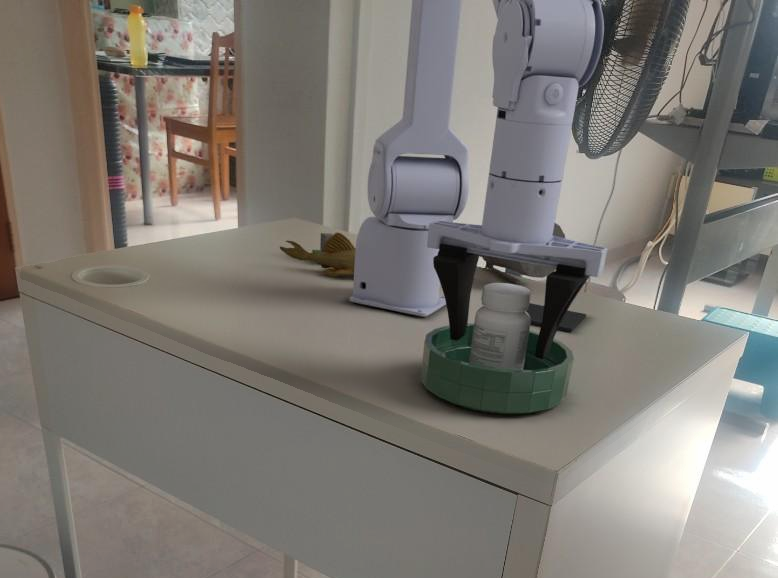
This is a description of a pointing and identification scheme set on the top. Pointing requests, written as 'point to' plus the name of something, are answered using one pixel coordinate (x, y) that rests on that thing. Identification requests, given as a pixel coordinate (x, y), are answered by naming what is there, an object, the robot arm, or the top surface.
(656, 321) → the top surface
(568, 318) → the mat
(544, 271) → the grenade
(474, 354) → the pill bottle
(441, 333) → the bowl
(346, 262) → the fish
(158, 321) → the top surface
